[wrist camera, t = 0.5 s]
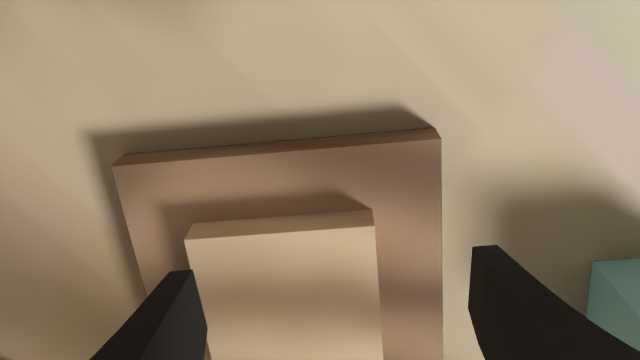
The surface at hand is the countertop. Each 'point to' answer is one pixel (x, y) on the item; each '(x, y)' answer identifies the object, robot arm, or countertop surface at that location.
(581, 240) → the countertop surface
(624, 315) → the teal block
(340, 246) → the walnut stand
